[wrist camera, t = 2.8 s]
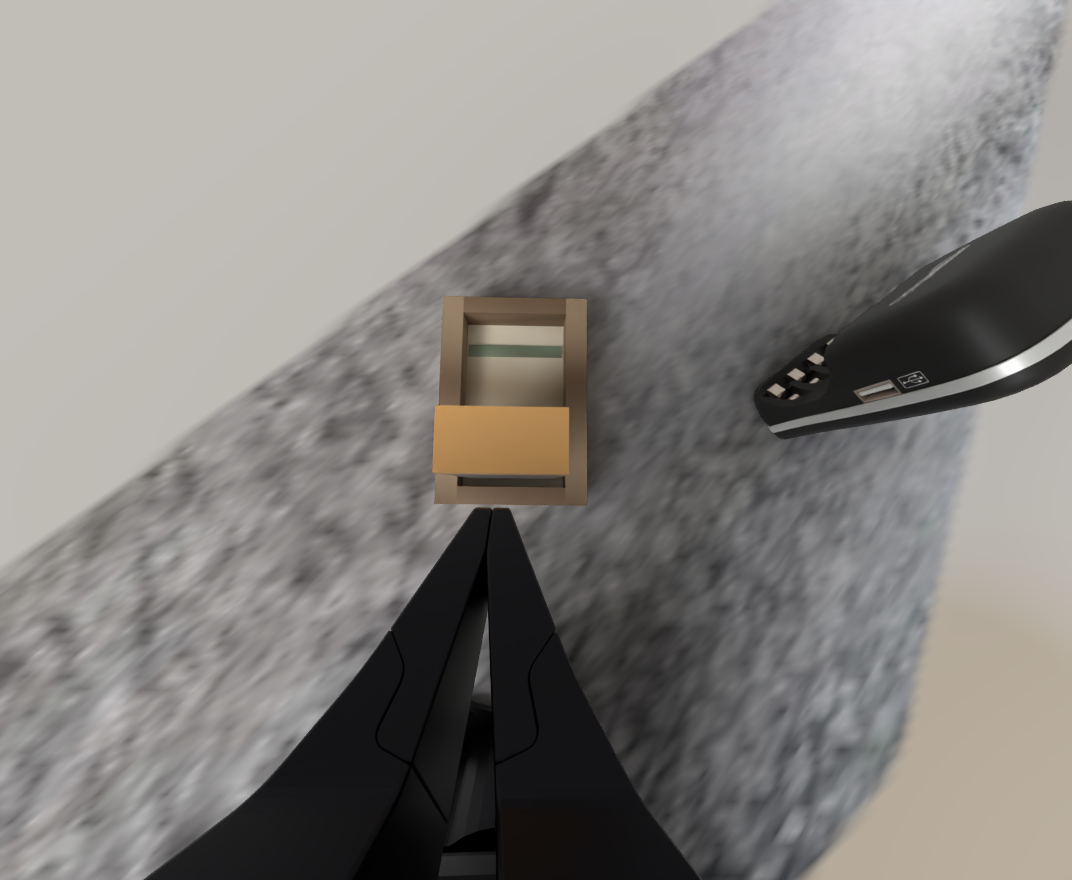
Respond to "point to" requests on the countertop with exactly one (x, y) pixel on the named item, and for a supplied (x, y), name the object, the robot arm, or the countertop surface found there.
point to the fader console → (517, 384)
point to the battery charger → (941, 336)
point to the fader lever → (501, 442)
